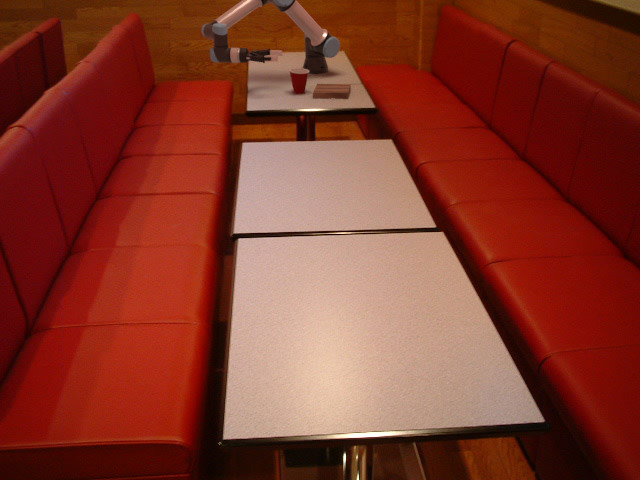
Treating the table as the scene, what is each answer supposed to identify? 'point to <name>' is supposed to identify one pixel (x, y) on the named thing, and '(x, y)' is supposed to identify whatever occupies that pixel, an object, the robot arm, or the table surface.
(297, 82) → the plastic cup
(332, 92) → the walnut stand
